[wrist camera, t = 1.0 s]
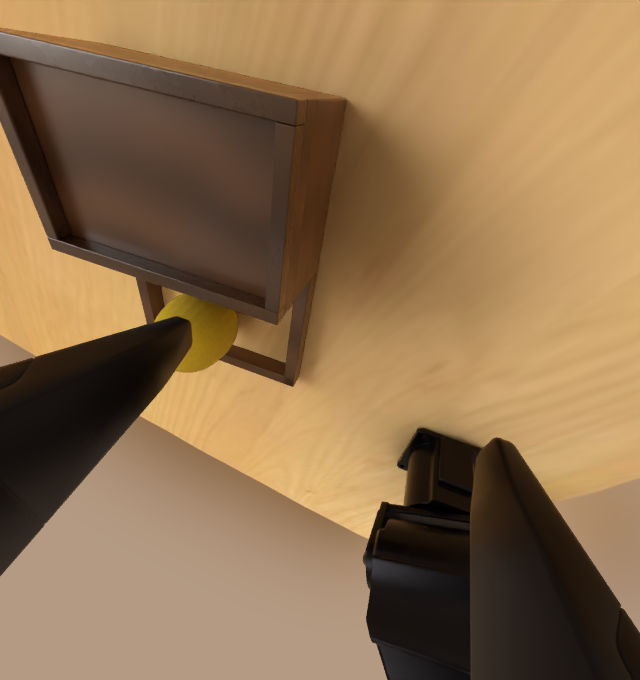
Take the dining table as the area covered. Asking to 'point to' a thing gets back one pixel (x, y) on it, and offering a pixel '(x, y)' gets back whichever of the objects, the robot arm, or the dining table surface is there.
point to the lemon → (203, 330)
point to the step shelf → (176, 175)
